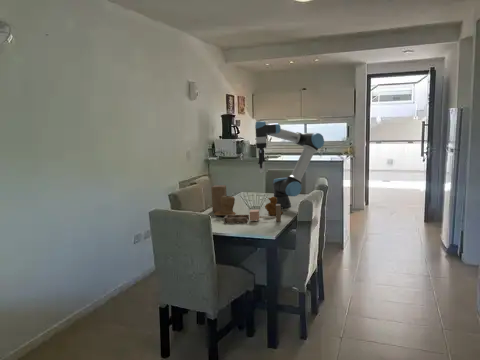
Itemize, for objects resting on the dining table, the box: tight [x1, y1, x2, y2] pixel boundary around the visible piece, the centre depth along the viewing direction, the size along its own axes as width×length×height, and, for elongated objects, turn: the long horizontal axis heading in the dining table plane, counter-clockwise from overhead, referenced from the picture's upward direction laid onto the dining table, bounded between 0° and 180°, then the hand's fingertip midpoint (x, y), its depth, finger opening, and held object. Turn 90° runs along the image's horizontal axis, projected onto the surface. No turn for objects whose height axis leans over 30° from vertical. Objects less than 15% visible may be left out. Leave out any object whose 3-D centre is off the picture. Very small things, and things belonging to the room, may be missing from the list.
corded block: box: [249, 204, 282, 222], centre depth 276 cm, size 21×6×11 cm, turn 82°
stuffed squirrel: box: [264, 196, 283, 216], centre depth 293 cm, size 10×14×13 cm
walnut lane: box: [223, 214, 250, 224], centre depth 279 cm, size 16×10×4 cm, turn 82°
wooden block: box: [210, 184, 228, 213], centre depth 315 cm, size 10×10×20 cm
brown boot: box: [213, 195, 237, 217], centre depth 298 cm, size 15×12×15 cm
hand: (262, 171), depth 295 cm, fingers open, 13 cm apart
